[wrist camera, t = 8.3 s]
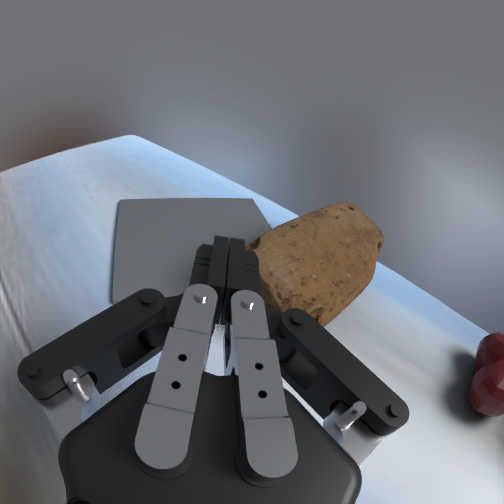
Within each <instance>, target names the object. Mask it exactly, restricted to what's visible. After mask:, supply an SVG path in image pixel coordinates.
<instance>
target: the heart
mask: <svg viewBox="0 0 504 504" xmlns="http://www.w3.org/2000/svg"><path fill="white" fill-rule="evenodd" d="M475 371H476V373H475V374H474V377H473V380H472V384H471V389H470V394H469V398H468V399H469V401H470V403H471V404H472V406H473V408H474V410H476V411H478V412H480V413H482V414H484V415H488V416H500V415H502V414H504V334H502V333H500V332H497V333H493V334H490V335H488V336H486V337H484V338H483V339H482V340H481V342H480V344H479V346H478V348H477V353H476V359H475Z"/></svg>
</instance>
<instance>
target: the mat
mask: <svg viewBox="0 0 504 504" xmlns="http://www.w3.org/2000/svg"><path fill="white" fill-rule="evenodd" d="M271 229H272V228H271V227H270V225H269V224H268V222H267V221H266V219H265V217H264V216H263V214H262V213H261V211H260V210H259V208H258V207H257V205H256V204H255V202H254V200H253V199H242V198H165V199H127V200H120V203H119V211H118V220H117V230H116V241H115V254H114V270H113V298H112V301H113V305H114V304H116V303H118V302H120V301H121V300H123V299H125V298H127V297H128V296H130V295H132V294H134V293H135V292H137V291H139V290H141V289H145V288H152V289H156V290H158V291H160V292H161V293H162V294H163V295H164V297H171V296H177V295H180V294H182V293H183V292H185V290H186V289H187V288H188V286H189V283H190V278H191V273H192V269H193V264H194V260H195V255H196V251H197V249H198V248H199V247H200V246H201V245H202V244H208V245H213V243H214V236H215V235H217V236H224V237H229V242H230V237H231V238H238V239H245V247H246V246H247V245H248V244H250V243H251V242H253V241H254V240H255V239H257V238H258V237H259V236H261V235H262V234H264V233H266V232H267V231H269V230H271ZM228 247H229V246H228Z"/></svg>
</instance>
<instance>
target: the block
mask: <svg viewBox="0 0 504 504" xmlns="http://www.w3.org/2000/svg"><path fill="white" fill-rule="evenodd" d="M383 241H384V237H383V234H382V233H381V231H380V230H379V228H378V227H377V226H376V225H375V224H374V223H373V222H372V221H371V219H369V218H368V217H367V216H366V215H365V214H364V213H363V212H362V210H360V209H359V208H358V207H357V206H356V205H354V204H352V203H348V202H341V203H336V204H333V205H329V206H326V207H324V208H321V209H318V210H316V211H313V212H311V213H308V214H306V215H303V216H301V217H298V218H296V219H293V220H290V221H288V222H286V223H284V224H281V225H279V226H277V227H276V228H274V229H271V230H269V231H267V232H266V233H264V234H262V235H261V236H259V237H258V238H257V239H255V240H254V241H253V242H251V243H250V244H248V245H247V246H246V247H245V250H250V251H254V252H255V253H256V255H257V256H258V258H259V274H260V294H261V297H262V299H263V301H264V303H265V304H266V305H267V306H268V307H270V308H272V309H274V310H277V311H279V312H282V313H283V312H284V311H285V310H287V309H290V308H298V309H301V310H304V311H306V312H307V313H308V314H309V315H311V316H312V317H313V318H314V319H315V320H316V321H317V322H318V323H319V324H320V325H321V326H322V327H325V326H326V325H327V324H328V323H329V322H331V321H332V320H333V319H334V318H335V317H337V316H338V315H339V314H340V313H341V312H342V311H343V310H344V309H345V308H346V307H347V306H348V305H349V304H350V303H351V302H352V301H353V300H354V299H355V298H356V297H357V296H358V295H359V294H360V293H361V292H362V291H363V290H364V289H365V288H366V287H367V285H368V284H369V283H370V281H371V280H372V278H373V275H374V272H375V268H376V267H375V265H376V261H377V257H378V254H379V251H380V248H381V247H382V245H383Z"/></svg>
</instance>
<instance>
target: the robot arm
mask: <svg viewBox="0 0 504 504" xmlns="http://www.w3.org/2000/svg"><path fill="white" fill-rule="evenodd" d="M228 246H229V247H228ZM220 313H221V319H220ZM219 319H220V324H222V325H225V332H224V337H223V350H224V376H216V375H213V374H210V373H207V372H205V370H206V364H207V359H208V354H209V348H210V343H211V338H212V335H213V333H214V328H215V324H219ZM160 351H162V354H161V357H160V360H159V363H158V367H157V370H156V372H153V373H149V374H147V375H145V376H143V377H141V378H139V379H138V380H137V381H135V382H134V383H133V384H132V385H130V386H129V387H128V388H126V389H125V390H124V391H123V392H121V393H120V394H119V395H117V396H116V397H115V398H114V399H112V400H111V401H110V402H108V403H107V404H106V405H104V406H103V407H102V408H101V409H99V410H98V411H97V412H95V411H96V410H97V409H98V407H99V405H100V402H101V397H100V394H101V393H102V392H104V391H105V390H107V389H108V388H110V387H111V386H113V385H114V384H115V383H117V382H118V381H120V380H121V379H123V378H124V377H125V376H127V375H128V374H130V373H131V372H132V371H134V370H135V369H137V368H138V367H139V366H141V365H142V364H144V363H145V362H147V361H148V360H149V359H151V358H152V357H153V356H155V355H156V354H158V353H159V352H160ZM281 376H282V377H283V379H284V380H285V381H286V382H287V383H288V384H289V385H290V386H291V387H292V388H293V389H294V390H295V391H296V392H297V393H298V394H299V395H300V396H301V397H302V398H303V399H304V400H305V401H306V402H307V403H308V404H309V405H310V406H311V407H312V408H313V409H314V410H315V412H316V413H317V414H318V415H320V416H321V417H322V418H323V419H324V422H323V427H322V426H321V425H320V424H319V423H318V421H317V420H316V419H315V418H314V417H313V416H312V415H311V414H310V413H309V412H308V411H307V410H306V409H305V407H304V406H303V405H302V404H301V403H300V402H299V401H298V400H297V399H296V398H295V396H294V395H292V394H291V393H290V392H289V391H288V390H286V389H285V388H283V383H282V377H281ZM18 378H19V380H20V382H21V383H22V385H23V386H24V387H25V388H26V389H27V391H28V393H29V394H30V395H31V396H32V398H33V399H34V400H35V401H36V402H37V403H38V404H39V405H40V406H41V407H42V409H43V411H44V412H45V414H46V416H47V417H48V419H49V420H50V422H51V424H52V425H53V427H54V428H55V430H56V431H57V433H58V434H59V436H60V437H61V438H62V442H61V444H60V447H59V452H58V462H59V466H60V470H61V473H62V476H63V479H64V483H65V488H66V495H67V503H66V504H355V502H356V499H357V497H358V495H359V492H360V490H361V485H362V476H361V471H360V468H359V466H360V465H361V463H362V462H363V461H364V460H365V459H366V458H367V457H368V456H369V455H370V453H371V452H372V451H373V450H374V449H375V448H376V446H377V445H378V444H379V443H380V442H381V441H382V439H384V438H385V437H387V436H388V435H390V434H391V433H393V432H394V431H396V430H397V429H399V428H400V427H401V426H403V425H404V424H405V423H406V422H407V421H408V418H409V409H408V406H407V404H406V403H405V402H404V401H403V400H402V399H401V398H400V397H399V396H398V395H397V394H396V393H395V392H393V391H392V390H391V389H390V388H389V387H388V386H387V385H386V384H385V383H384V382H382V381H381V380H380V379H379V378H378V377H377V376H376V375H375V374H374V373H373V372H372V371H370V370H369V369H368V368H367V367H366V366H365V365H364V364H363V363H362V362H361V361H359V360H358V359H357V358H356V357H355V356H354V355H353V354H352V353H351V352H350V351H349V350H347V349H346V348H345V347H344V346H343V345H342V344H341V343H340V342H339V341H338V340H337V339H336V338H334V337H333V336H332V335H331V334H330V333H329V332H328V331H327V330H326V329H325V328H324V327H322V326H321V325H320V324H319V323H318V322H317V321H316V320H315V319H314V318H313V317H312V316H311V315H309V314H308V313H307V312H306V311H304V310H301V309H298V308H290V309H287V310H285V311H284V312H283V313H282V312H279V311H277V310H274V309H272V308H270V307H268V306H267V305H266V304H265V303H264V301H263V299H262V297H261V294H260V274H259V258H258V256H257V255H256V253H255V252H254V251H250V250H245V239H238V238H231V237H230V242H229V237H224V236H217V235H215V236H214V243H213V245H208V244H202V245H201V246H200V247H199V248H198V249H197V251H196V255H195V260H194V264H193V269H192V273H191V278H190V283H189V286H188V288H187V289H186V290H185V292H183V293H182V294H180V295H177V296H171V297H164V295H163V294H162V293H161V292H160V291H158V290H156V289H152V288H145V289H141V290H139V291H137V292H135V293H134V294H132V295H130V296H128V297H127V298H125V299H123V300H121V301H120V302H118V303H116V304H114V305H113V306H111V307H109V308H108V309H106V310H104V311H102V312H101V313H99V314H97V315H96V316H94V317H92V318H90V319H89V320H87V321H85V322H84V323H82V324H80V325H79V326H77V327H75V328H74V329H72V330H70V331H68V332H67V333H65V334H63V335H62V336H60V337H58V338H57V339H55V340H53V341H52V342H50V343H48V344H47V345H45V346H44V347H42V348H40V349H39V350H37V351H35V352H34V353H32V354H30V355H29V356H27V357H26V358H24V359H23V360H22V361H21V363H20V364H19V367H18ZM94 412H95V413H94ZM93 413H94V414H93ZM92 414H93V415H92Z"/></svg>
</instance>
